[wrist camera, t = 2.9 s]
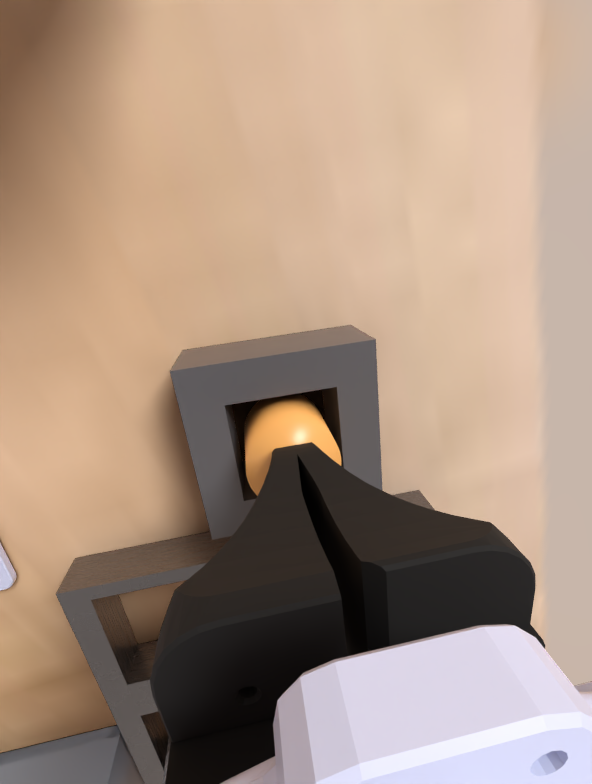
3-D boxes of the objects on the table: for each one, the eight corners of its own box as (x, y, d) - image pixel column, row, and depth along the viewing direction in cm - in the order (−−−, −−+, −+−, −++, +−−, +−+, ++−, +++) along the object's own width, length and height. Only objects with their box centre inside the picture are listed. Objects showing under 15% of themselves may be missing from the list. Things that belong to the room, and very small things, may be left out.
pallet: (155, 747, 23) (148, 790, 21) (75, 558, 17) (55, 593, 16) (419, 680, 24) (434, 715, 22) (418, 490, 19) (438, 515, 17)
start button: (251, 469, 16) (254, 515, 13) (237, 398, 14) (238, 432, 12) (325, 455, 16) (344, 498, 13) (318, 385, 15) (337, 415, 12)
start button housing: (216, 494, 17) (212, 539, 15) (182, 349, 15) (170, 370, 12) (360, 467, 18) (382, 505, 15) (350, 325, 16) (375, 339, 13)
